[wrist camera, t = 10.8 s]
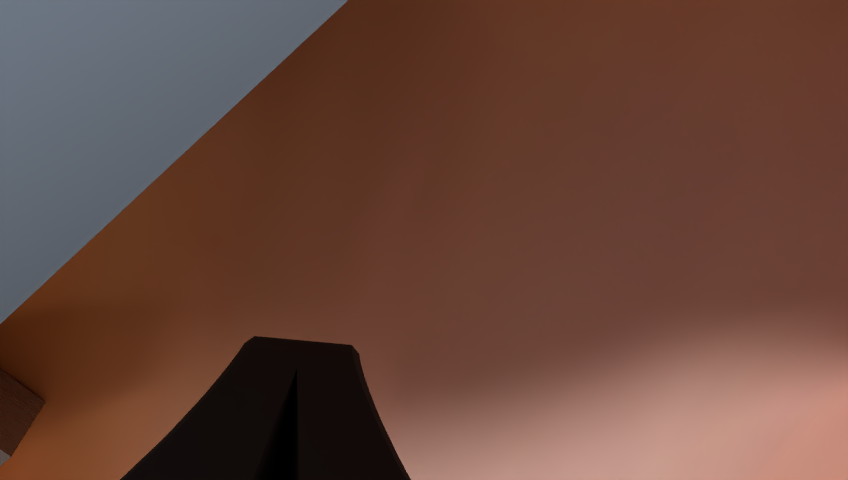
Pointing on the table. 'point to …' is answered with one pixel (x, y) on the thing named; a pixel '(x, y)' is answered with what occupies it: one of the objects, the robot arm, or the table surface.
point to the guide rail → (15, 414)
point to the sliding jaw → (116, 108)
